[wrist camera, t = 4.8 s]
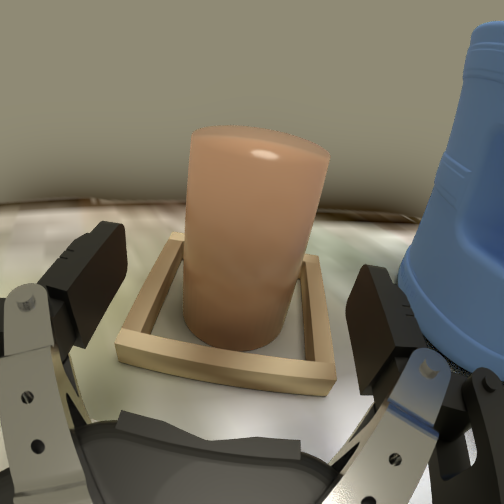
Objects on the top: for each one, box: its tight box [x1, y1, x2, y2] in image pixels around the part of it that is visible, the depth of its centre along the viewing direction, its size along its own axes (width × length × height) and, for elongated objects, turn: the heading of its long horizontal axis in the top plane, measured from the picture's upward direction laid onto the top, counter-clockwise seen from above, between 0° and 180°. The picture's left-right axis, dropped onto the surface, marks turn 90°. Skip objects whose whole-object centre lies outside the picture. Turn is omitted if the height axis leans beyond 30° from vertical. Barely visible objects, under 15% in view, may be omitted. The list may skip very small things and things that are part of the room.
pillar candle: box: [183, 125, 330, 351], centre depth 17 cm, size 6×8×10 cm
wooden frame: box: [114, 232, 337, 396], centre depth 18 cm, size 10×10×2 cm
